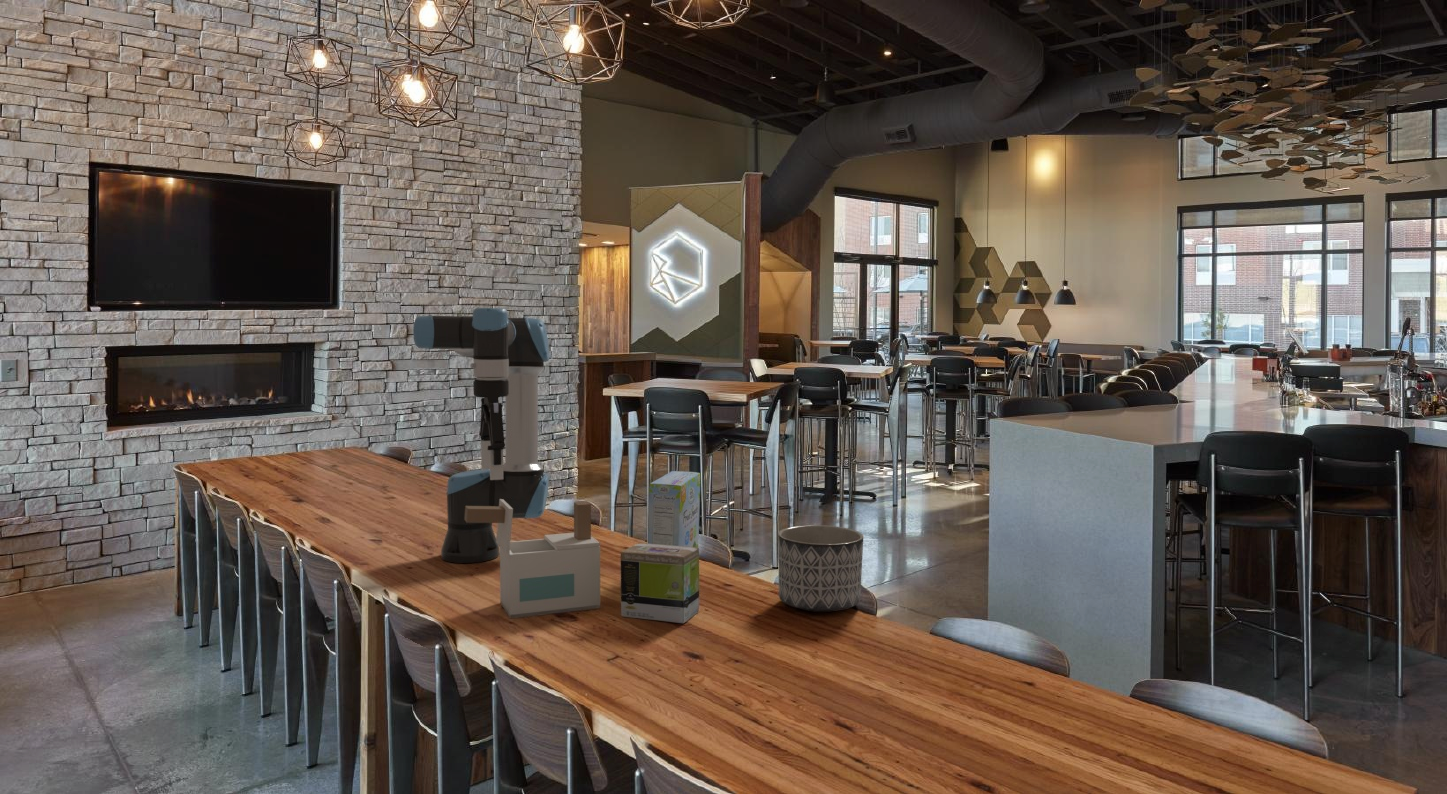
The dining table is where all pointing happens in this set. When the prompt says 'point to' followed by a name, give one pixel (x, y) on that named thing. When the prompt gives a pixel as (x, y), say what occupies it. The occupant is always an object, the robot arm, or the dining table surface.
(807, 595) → the planter
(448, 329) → the robot arm
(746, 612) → the dining table surface
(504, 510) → the flap near
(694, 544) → the snack box
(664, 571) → the tea box
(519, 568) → the carton
